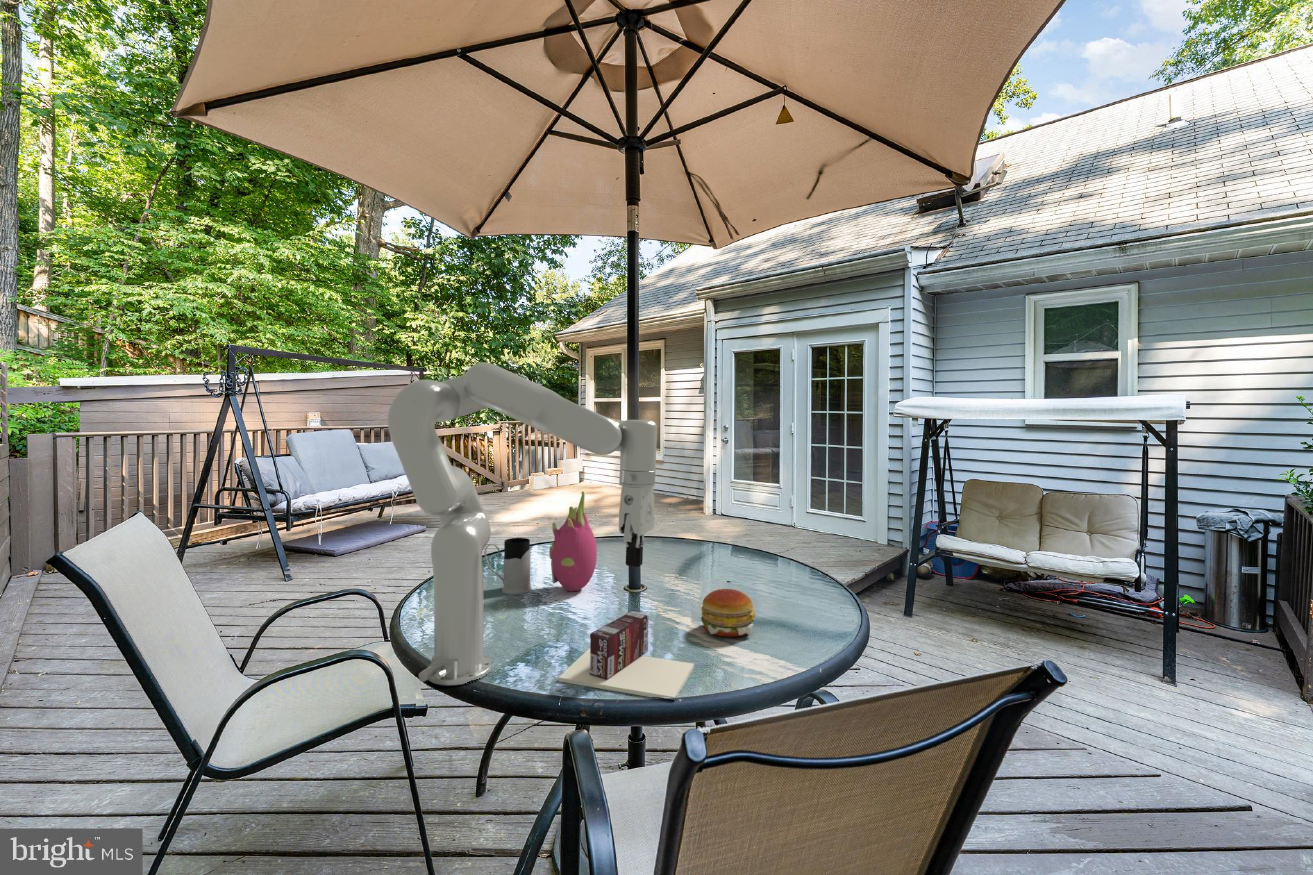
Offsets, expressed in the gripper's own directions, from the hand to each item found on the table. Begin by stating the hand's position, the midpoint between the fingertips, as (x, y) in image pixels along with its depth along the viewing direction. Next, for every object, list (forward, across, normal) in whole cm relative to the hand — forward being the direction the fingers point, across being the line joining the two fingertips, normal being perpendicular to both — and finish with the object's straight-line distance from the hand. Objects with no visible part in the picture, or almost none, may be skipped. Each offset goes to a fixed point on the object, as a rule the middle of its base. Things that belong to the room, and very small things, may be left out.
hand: (633, 564), depth 119 cm
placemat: (+22, -4, -1) cm, 22 cm away
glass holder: (+23, +36, +53) cm, 68 cm away
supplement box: (+16, +6, 0) cm, 17 cm away
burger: (+21, +26, -16) cm, 38 cm away
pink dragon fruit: (+22, +42, +34) cm, 59 cm away
